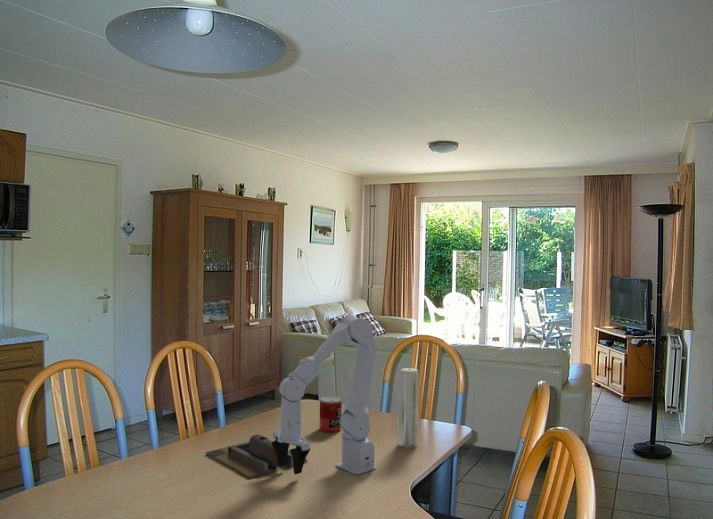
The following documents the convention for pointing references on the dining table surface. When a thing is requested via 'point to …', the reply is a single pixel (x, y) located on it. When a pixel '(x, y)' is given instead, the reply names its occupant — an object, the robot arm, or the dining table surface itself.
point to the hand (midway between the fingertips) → (290, 469)
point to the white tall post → (408, 408)
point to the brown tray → (243, 460)
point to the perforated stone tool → (263, 450)
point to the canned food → (330, 414)
